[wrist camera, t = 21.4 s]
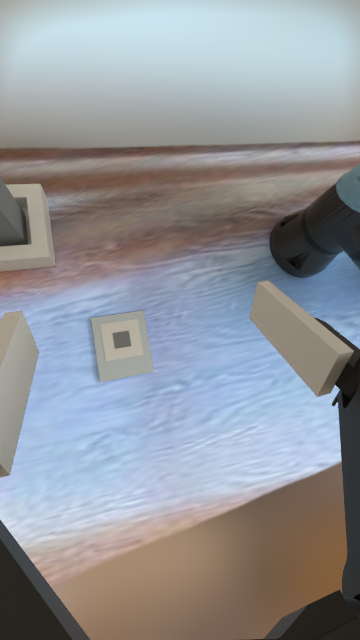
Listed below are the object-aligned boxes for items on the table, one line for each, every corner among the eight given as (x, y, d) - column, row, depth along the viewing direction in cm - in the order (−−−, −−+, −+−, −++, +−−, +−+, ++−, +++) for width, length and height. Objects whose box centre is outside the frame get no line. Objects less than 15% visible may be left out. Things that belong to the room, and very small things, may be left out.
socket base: (47, 199, 50) (40, 183, 46) (55, 266, 49) (49, 256, 44) (-35, 202, 47) (-51, 186, 43) (-29, 274, 45) (-46, 264, 41)
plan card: (143, 310, 51) (143, 310, 50) (154, 371, 49) (154, 371, 48) (91, 318, 48) (90, 317, 48) (100, 382, 47) (99, 382, 46)
